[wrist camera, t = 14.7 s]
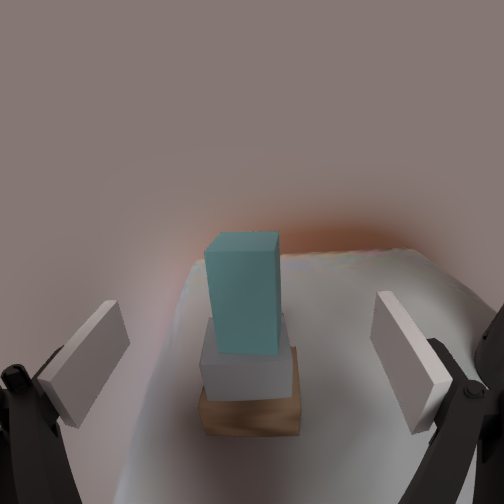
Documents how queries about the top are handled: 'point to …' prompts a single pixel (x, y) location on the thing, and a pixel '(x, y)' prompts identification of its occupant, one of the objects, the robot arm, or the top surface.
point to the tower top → (246, 371)
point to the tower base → (254, 413)
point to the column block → (245, 291)
